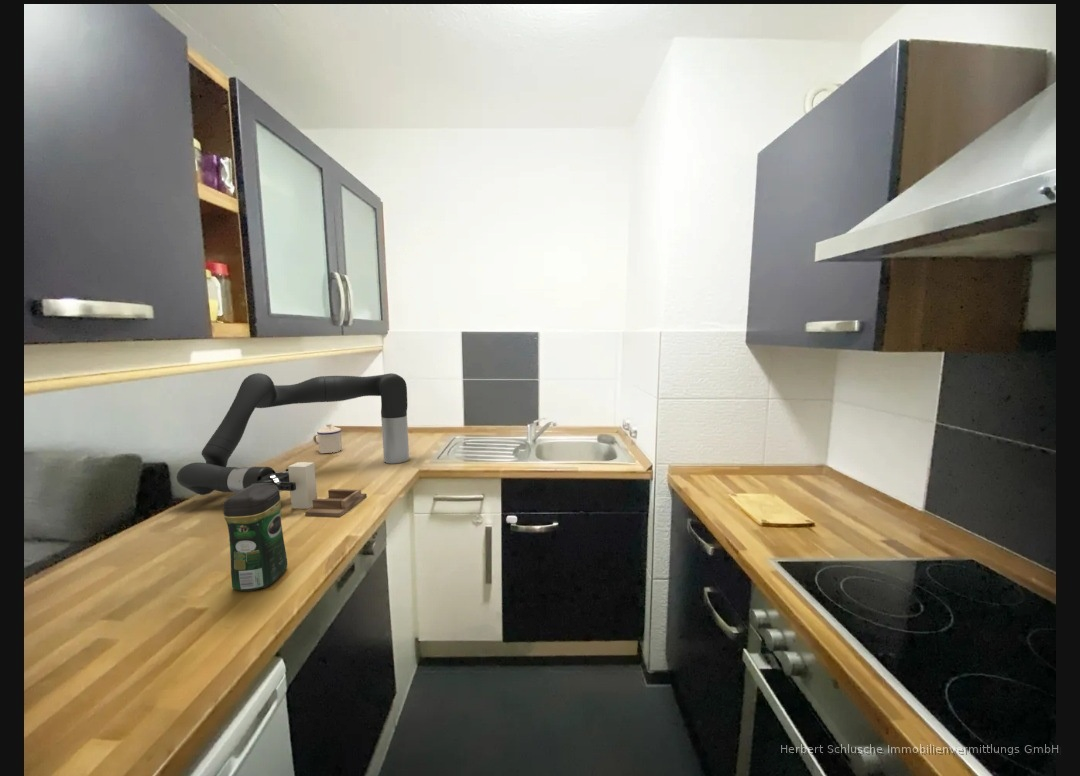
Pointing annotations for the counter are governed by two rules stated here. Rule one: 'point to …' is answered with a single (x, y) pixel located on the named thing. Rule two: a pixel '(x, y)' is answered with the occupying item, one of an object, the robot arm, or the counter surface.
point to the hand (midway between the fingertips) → (305, 481)
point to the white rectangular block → (303, 484)
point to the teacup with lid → (328, 439)
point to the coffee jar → (255, 536)
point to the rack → (336, 503)
